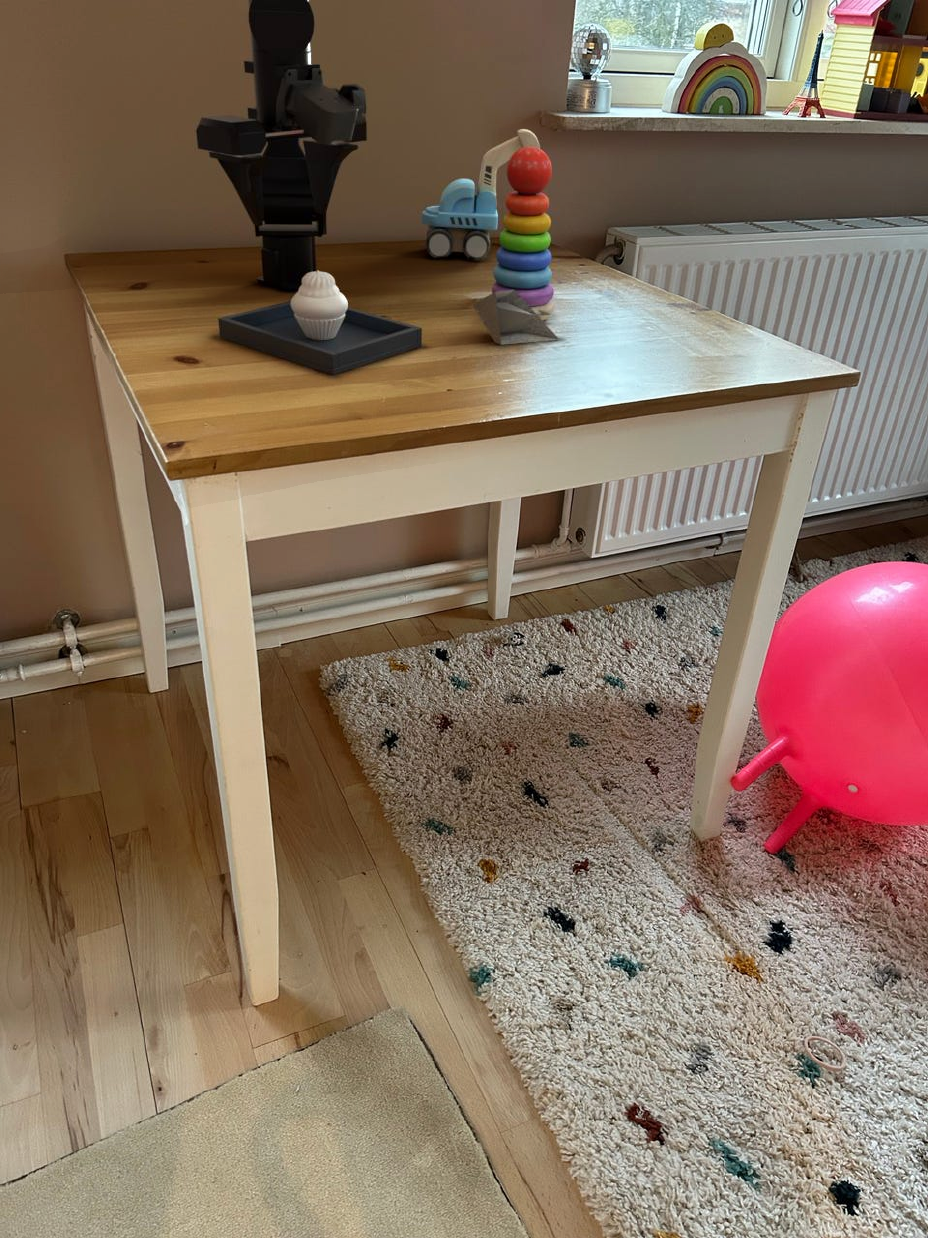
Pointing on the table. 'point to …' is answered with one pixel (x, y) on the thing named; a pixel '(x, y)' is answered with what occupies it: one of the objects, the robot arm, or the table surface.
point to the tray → (349, 349)
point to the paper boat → (512, 319)
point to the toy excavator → (471, 206)
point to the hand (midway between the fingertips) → (290, 219)
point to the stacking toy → (527, 232)
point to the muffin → (319, 306)
